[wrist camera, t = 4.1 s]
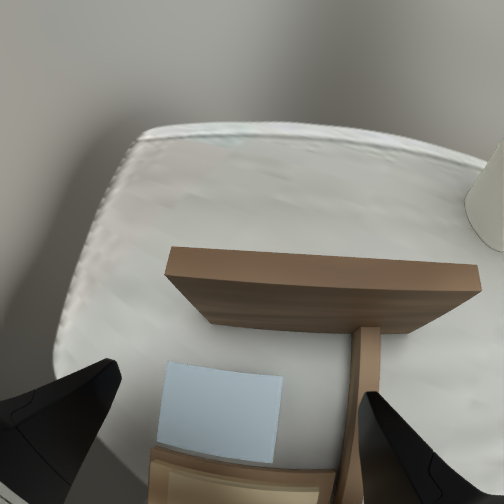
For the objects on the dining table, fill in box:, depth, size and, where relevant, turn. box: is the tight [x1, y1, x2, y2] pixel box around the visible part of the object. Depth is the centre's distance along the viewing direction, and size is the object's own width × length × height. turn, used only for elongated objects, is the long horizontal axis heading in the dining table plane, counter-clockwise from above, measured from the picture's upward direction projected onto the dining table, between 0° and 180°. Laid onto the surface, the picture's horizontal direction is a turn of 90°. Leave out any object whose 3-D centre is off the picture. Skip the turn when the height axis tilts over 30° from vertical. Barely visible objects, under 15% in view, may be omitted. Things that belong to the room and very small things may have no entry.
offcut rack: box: [147, 247, 482, 504], centre depth 9 cm, size 17×16×8 cm
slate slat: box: [157, 361, 283, 463], centre depth 10 cm, size 2×3×10 cm
